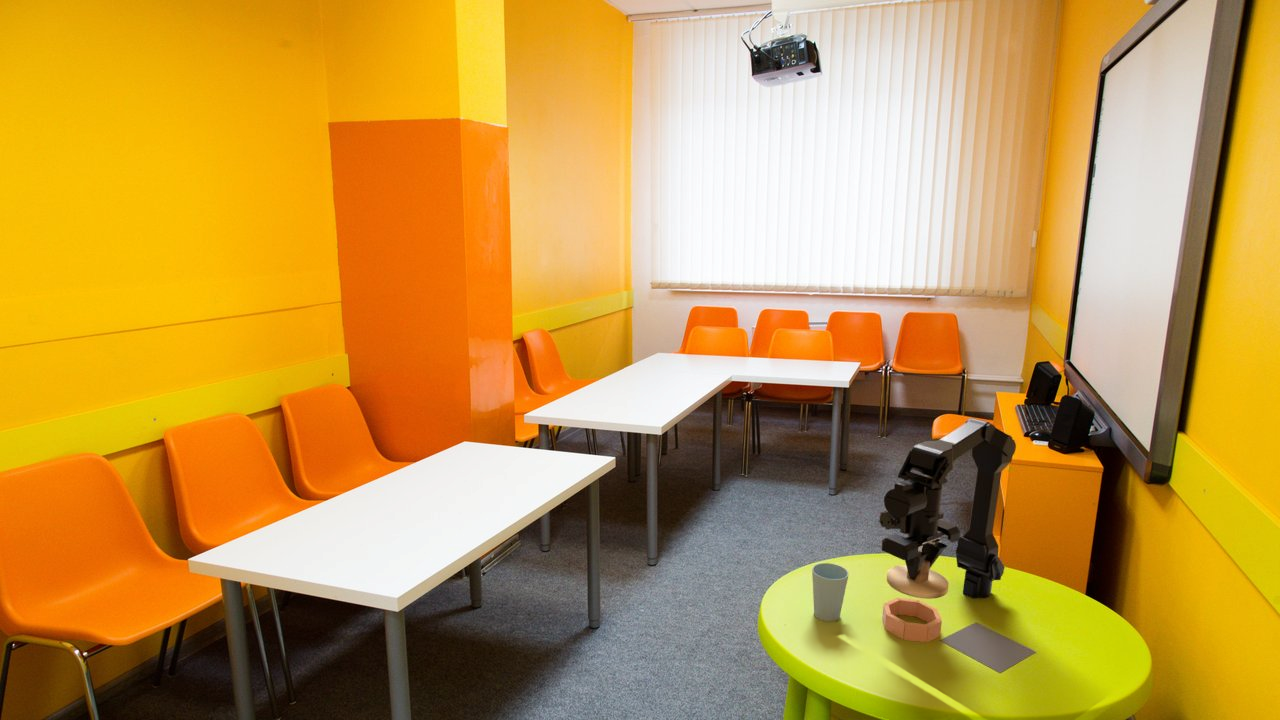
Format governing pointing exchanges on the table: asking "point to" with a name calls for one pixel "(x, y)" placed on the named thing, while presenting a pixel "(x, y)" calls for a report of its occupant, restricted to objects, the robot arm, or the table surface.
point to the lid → (918, 582)
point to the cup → (828, 590)
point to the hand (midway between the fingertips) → (917, 577)
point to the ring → (911, 629)
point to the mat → (988, 647)
